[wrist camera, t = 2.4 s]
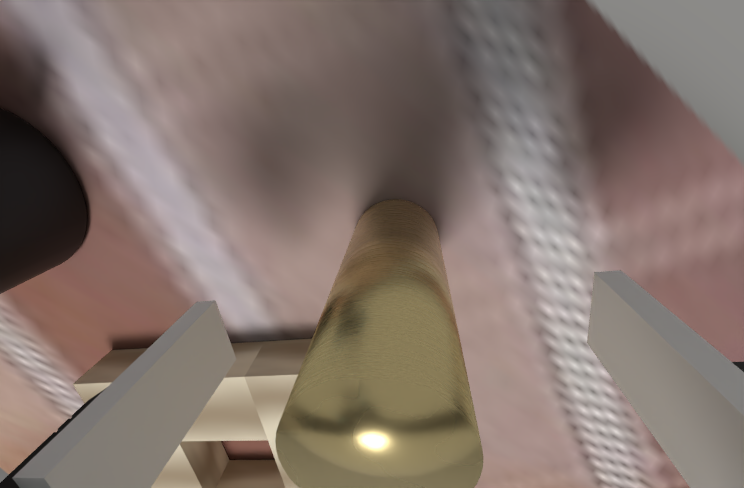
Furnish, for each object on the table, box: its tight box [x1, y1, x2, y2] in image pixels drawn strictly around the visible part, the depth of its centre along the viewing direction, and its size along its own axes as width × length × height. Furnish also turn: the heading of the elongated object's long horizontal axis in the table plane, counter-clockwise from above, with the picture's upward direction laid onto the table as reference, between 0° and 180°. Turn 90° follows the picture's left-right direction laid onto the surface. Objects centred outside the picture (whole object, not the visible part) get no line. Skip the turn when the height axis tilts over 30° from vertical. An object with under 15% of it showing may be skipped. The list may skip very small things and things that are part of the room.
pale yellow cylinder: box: [275, 199, 483, 488], centre depth 13 cm, size 4×4×12 cm
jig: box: [73, 339, 312, 488], centre depth 23 cm, size 16×16×5 cm
